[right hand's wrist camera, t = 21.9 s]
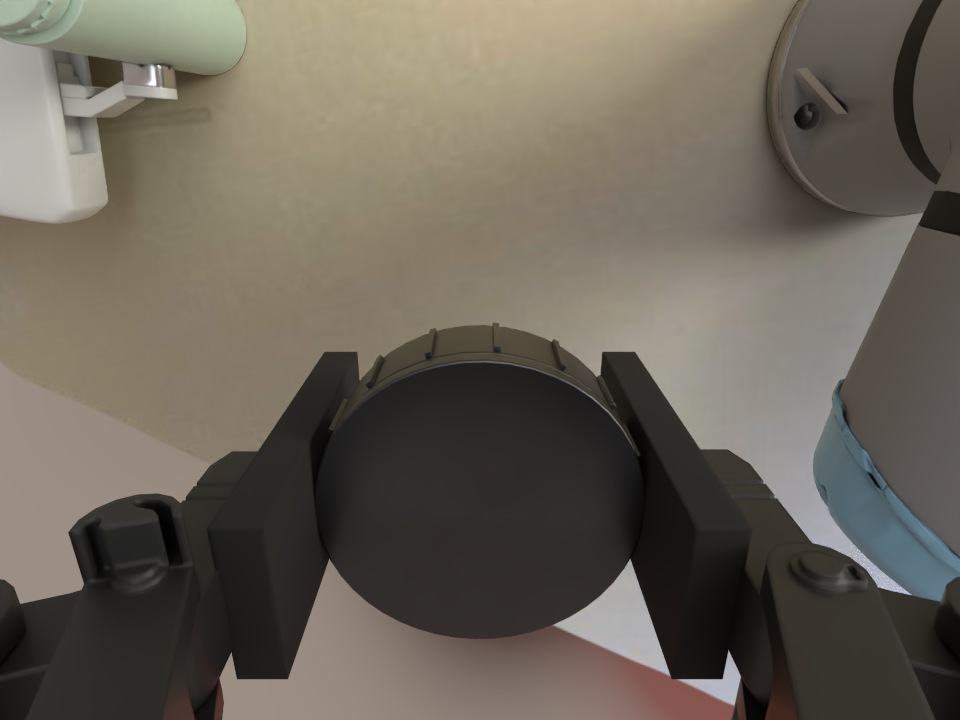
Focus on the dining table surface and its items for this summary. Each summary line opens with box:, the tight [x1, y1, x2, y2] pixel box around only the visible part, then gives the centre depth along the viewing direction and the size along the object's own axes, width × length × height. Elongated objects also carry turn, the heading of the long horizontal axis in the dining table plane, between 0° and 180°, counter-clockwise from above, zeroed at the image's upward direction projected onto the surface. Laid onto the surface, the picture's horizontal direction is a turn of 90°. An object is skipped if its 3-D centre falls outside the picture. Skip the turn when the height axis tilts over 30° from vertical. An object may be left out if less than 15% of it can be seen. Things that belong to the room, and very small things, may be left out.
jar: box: [0, 0, 246, 75], centre depth 26 cm, size 5×5×16 cm
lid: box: [314, 323, 646, 639], centre depth 11 cm, size 6×6×2 cm
